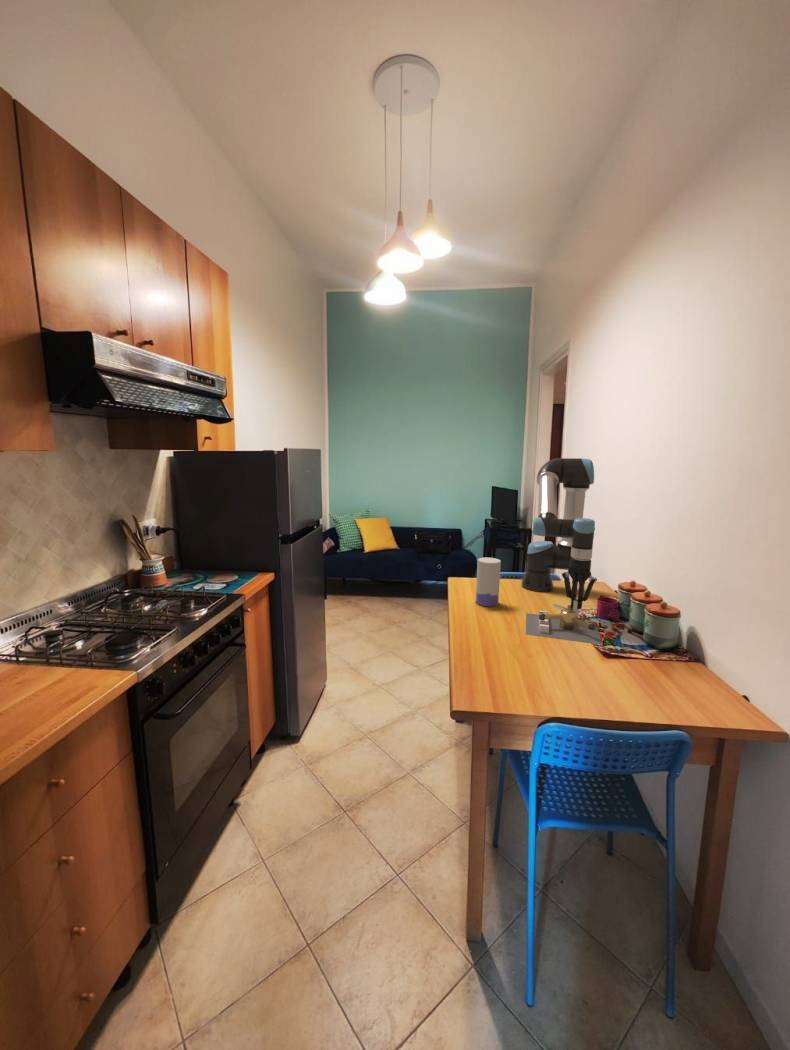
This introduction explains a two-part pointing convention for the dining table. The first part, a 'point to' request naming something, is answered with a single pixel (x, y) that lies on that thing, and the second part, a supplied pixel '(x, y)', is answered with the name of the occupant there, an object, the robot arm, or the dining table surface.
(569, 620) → the gold quadcopter drone
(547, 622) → the stand
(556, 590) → the dining table surface
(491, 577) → the container
